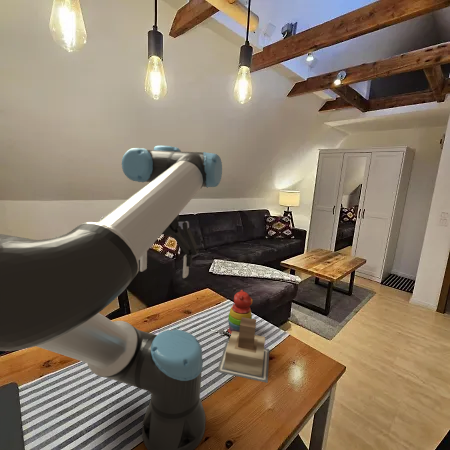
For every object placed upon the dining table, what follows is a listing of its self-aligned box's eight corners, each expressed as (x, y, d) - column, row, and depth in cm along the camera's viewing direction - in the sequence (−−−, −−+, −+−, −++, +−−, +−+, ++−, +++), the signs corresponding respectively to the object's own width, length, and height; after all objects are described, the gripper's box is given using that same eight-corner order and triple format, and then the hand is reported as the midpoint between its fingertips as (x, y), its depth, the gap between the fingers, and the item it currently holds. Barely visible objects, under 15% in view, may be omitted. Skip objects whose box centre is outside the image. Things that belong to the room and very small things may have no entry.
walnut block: (253, 349, 83) (255, 327, 82) (237, 347, 84) (239, 325, 83) (254, 340, 88) (256, 319, 87) (239, 338, 89) (241, 317, 88)
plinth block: (261, 376, 80) (263, 359, 79) (224, 368, 83) (225, 351, 81) (263, 351, 92) (265, 336, 91) (230, 345, 94) (232, 330, 93)
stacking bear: (250, 344, 96) (255, 300, 93) (224, 339, 98) (228, 296, 95) (253, 328, 107) (257, 288, 104) (229, 324, 109) (233, 285, 105)
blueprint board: (267, 384, 78) (267, 382, 78) (216, 372, 81) (216, 371, 81) (269, 350, 94) (269, 349, 94) (226, 342, 97) (226, 340, 96)
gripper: (211, 205, 74) (207, 274, 78) (133, 198, 79) (133, 263, 83) (204, 208, 67) (200, 284, 71) (118, 199, 71) (119, 271, 75)
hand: (164, 273), depth 77 cm, fingers open, 13 cm apart
